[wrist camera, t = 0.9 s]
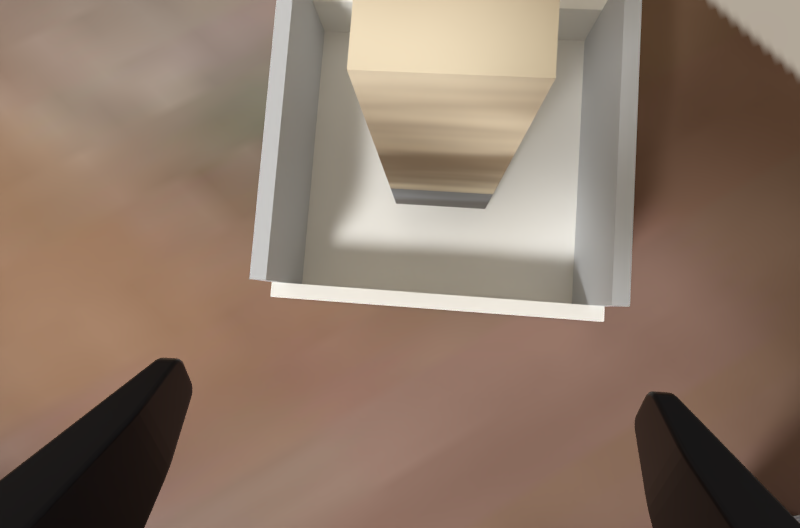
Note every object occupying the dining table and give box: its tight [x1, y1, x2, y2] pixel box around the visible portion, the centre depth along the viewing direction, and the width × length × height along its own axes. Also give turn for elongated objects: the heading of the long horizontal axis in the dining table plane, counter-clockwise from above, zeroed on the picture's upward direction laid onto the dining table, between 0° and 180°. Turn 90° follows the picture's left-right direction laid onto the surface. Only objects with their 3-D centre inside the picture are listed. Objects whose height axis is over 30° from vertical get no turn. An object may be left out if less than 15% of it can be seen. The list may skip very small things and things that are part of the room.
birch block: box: [347, 0, 560, 209], centre depth 16 cm, size 4×4×13 cm
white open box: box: [249, 0, 642, 322], centre depth 21 cm, size 13×13×6 cm
